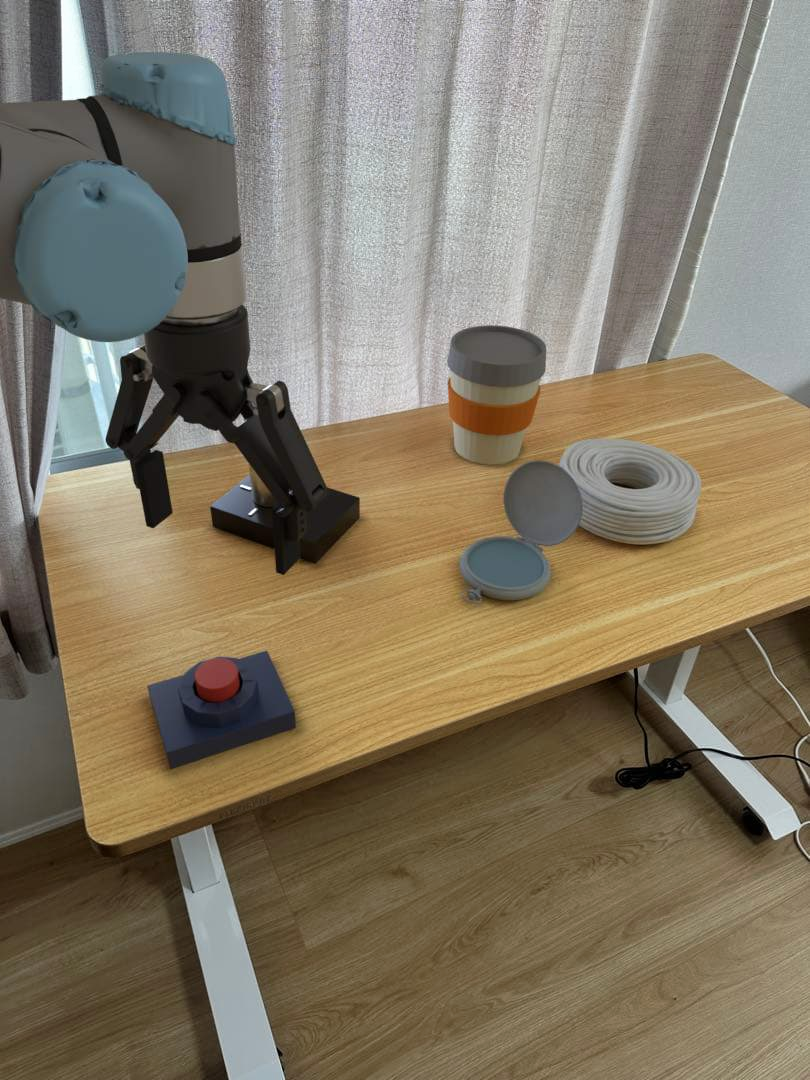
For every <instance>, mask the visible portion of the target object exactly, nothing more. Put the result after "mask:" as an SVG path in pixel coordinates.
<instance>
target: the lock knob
mask: <svg viewBox="0 0 810 1080" xmlns="http://www.w3.org/2000/svg"><path fill="white" fill-rule="evenodd" d="M248 470H249V475H250V481H251V491H252V499H253V501H254V502H255V503H256V504H258V505H260V506H263V507H274V506H275V505H277V504H278V502H277V501H276V500H275V498H274V497H273V496H272V494H271V493H270V491H269V490H268V489H267V487H266V486H265V485H264V483H263V482H262V481H261V479H260V478H259V476H258V475H257V474H256V472H255V471H254V470H253V468H252V467H251V466H250V464H249V463H248ZM289 492H290V488H289Z"/></svg>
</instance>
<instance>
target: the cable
mask: <svg viewBox="0 0 810 1080" xmlns="http://www.w3.org/2000/svg"><path fill="white" fill-rule="evenodd" d="M558 466H560V467H561V468H563V469H564V470H565V471H567V472H568V473H569V474H570V475H571V477H572V478H573V479H574V481H575V482H576V484H577V486H578V488H579V490H580V493H581V497H582V505H583V509H582V517H581V520H580V523H579V526H578V527H581V528H583V529H584V530H586V531H588V532H590V533H592V534H594V535H596V536H599V537H601V538H603V539H607V540H610V541H613V542H617V543H623V544H629V545H655V544H656V545H657V544H661V543H667V542H670V541H673V540H675V539H677V538H679V537H680V536H682V535H683V534H684V533H686V532H687V531H688V530H689V529H690V528H691V526H692V525H693V523H694V521H695V519H696V514H697V508H698V503H699V498H700V493H701V491H702V480H701V477H700V474H699V473H698V471H697V470H696V468H694V466H693V465H692V464H690V463H689V462H687V461H686V460H685V459H683V458H681V457H680V456H678V455H676V454H674V453H672V452H669V451H667V450H665V449H662V448H660V447H657V446H654V445H651V444H648V443H644V442H639V441H635V440H630V439H629V440H628V439H622V438H603V437H602V438H600V437H599V438H588V439H582V440H581V439H580V440H578V441H576V442H573V443H571V444H570V445H568V447H567V448H566V449H565V450H564V451H563V453H562V456H561V458H560V461H559V464H558ZM613 483H614V484H613ZM615 484H619V485H625V486H628V487H632V488H628V487H627V488H626V487H623V486H618V485H615Z"/></svg>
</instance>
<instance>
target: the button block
mask: <svg viewBox="0 0 810 1080" xmlns="http://www.w3.org/2000/svg"><path fill="white" fill-rule="evenodd" d="M215 658H223V659H228V660H230V661H232V662H233V663H234V664H235V665H236V666H237V669H238V676H239V683H240V685H239V689H238V691H237V693H236V694H235V695H234V696H233V697H232V698H230V699H229V700H226V701H223V702H219V703H212V702H207V701H205V700H203V699H202V698H201V697H200V696H199V695H198V692H197V687H196V682H195V672H196V670H197V669H198V667H199V666H200V665H201V664H203V663H204V662H206V661H208V660H211V659H215ZM146 686H147V691H148V696H149V700H150V703H151V704H150V705H151V708H152V711H153V715H154V718H155V721H156V725H157V728H158V731H159V735H160V738H161V742H162V746H163V749H164V753H165V756H166V759H167V763H168V767H169V769H170V770H173V769H176V768H180V767H182V766H185V765H189V764H191V763H193V762H197V761H201V760H204V759H206V758H209V757H212V756H215V755H218V754H221V753H224V752H227V751H230V750H234V749H235V748H239V747H242V746H245V745H248V744H252V743H254V742H257V741H260V740H263V739H266V738H270V737H273V736H275V735H278V734H281V733H284V732H288V731H291V730H294V729H296V728H297V720H296V719H297V718H296V710H295V708H294V706H293V704H292V701H291V699H290V697H289V695H288V693H287V691H286V689H285V686H284V685H283V682H282V680H281V678H280V676H279V674H278V671H277V669H276V667H275V665H274V662H273V660H272V658H271V656H270V654H269V652H268V650H264V651H261V652H257V653H254V654H250V655H247V656H243V657H240V658H238V657H229V656H221V655H220V656H219V655H218V656H215V657H212V658H208V659H205V660H201V661H198V662H197V663H196V664H194V665H193V666H192V667H191V668H189V669H188V670H186V672H184V674H181V675H179V676H175V677H171V678H168V679H165V680H161V681H158V682H154V683H151V684H147V685H146Z"/></svg>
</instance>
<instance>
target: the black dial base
mask: <svg viewBox="0 0 810 1080" xmlns="http://www.w3.org/2000/svg"><path fill="white" fill-rule="evenodd" d="M327 488H328V495H327V496H326V497H325V498H324V499H323V500H322V501H321V502H320V503H319V504H318V505H317V506H316V507H315V508H314V509H313V510H312V511H310V512H307V511H306V512H307V519H306V520H307V530H306V533H305V534H304V535H303V536H302V537H301V538H300V551H301V558H300V559H299V560H303V561H305V562H307V563H311V564H313V565H317V563H318V562H319V561H320V560H322V558H323V557H324V556H325V555H326V554H327V553H328V552H329V551H330V550H331V549H332V548H333V547H334V546H335V545H336V544H337V542H338V541H340V540H341V538H342V537H343V536H345V534H346V533H347V532H348V531H349V530H350V529H351V528H352V527H353V526H354V525H355V524H356V523H357V521H359V520H360V518H361V517H360V513H361V512H360V511H361V510H360V509H361V507H360V506H361V504H360V503H361V498H360V497H359V496H355V495H352V494H349V493H346V492H344V491H341V490H340V491H339V490H337V489H334V488H331V487H328V486H327ZM290 491H291V490H290ZM272 508H273V507H263V506H260V505H258V504H256V503H255V502H254V501H253V499H252V491H251V481H250V474H248V475H247V476H246V477H245V478H244V479H242V480H241V481H239V483H237V484H236V485H235V486H233V487H232V488H231V489H230V490H228V491H227V492H226V493H225V494H223V495H222V496H221V497H220V498H218V499H217V500H216V501H215V502H213V503H212V504H211V505H210V506H209V509H210V517H211V523H212V524H211V525H212V528H214V529H217V530H220V531H221V532H225V533H228V534H230V535H233V536H237V537H239V538H241V539H244V540H247V541H250V542H252V543H255V544H258V545H261V546H263V547H267V548H269V549H272V550H275V549H274V536H273V522H272Z"/></svg>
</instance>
